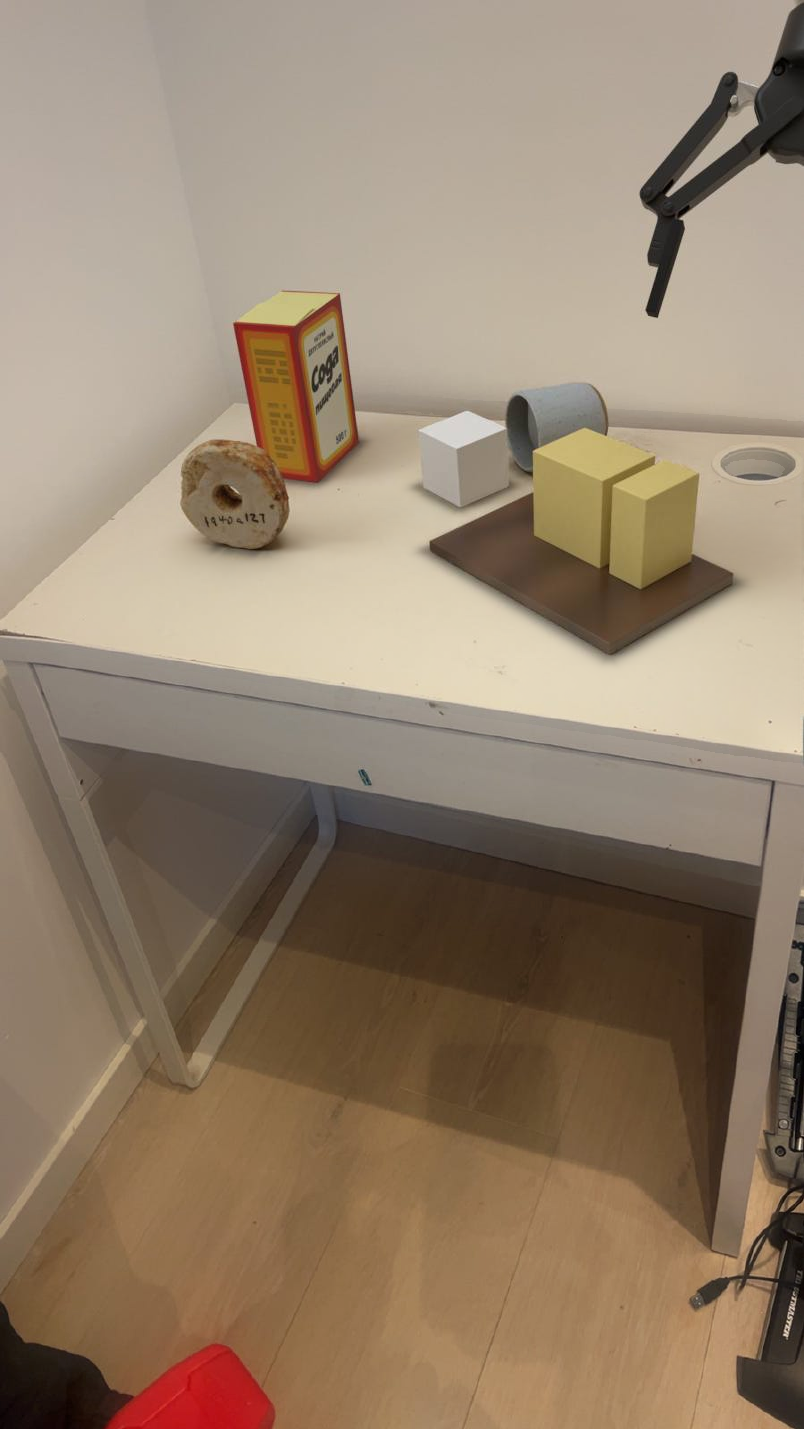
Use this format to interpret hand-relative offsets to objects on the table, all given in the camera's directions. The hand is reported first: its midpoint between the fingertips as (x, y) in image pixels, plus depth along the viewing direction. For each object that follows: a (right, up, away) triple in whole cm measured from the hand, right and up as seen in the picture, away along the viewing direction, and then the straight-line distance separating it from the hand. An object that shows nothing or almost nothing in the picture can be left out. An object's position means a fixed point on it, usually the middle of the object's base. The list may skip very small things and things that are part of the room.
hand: (740, 335), depth 77 cm
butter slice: (-5, -16, +8) cm, 19 cm away
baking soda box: (-35, -1, +32) cm, 47 cm away
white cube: (-19, -6, +24) cm, 31 cm away
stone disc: (-40, -12, +20) cm, 46 cm away
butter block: (-9, -13, +12) cm, 20 cm away
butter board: (-11, -16, +11) cm, 22 cm away
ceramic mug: (-10, -2, +28) cm, 30 cm away
